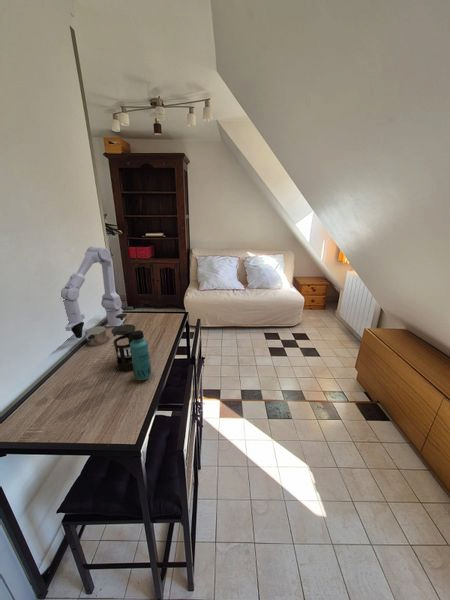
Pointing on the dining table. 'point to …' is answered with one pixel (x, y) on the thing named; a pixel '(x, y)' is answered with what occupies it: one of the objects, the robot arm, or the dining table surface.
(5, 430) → the dining table surface
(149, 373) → the beverage bottle
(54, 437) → the dining table surface
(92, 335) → the pot
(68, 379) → the dining table surface
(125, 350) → the french press
